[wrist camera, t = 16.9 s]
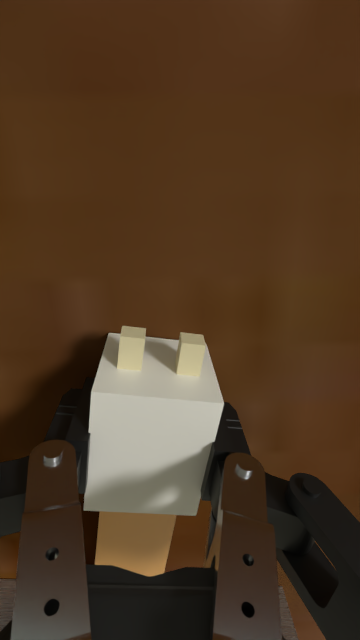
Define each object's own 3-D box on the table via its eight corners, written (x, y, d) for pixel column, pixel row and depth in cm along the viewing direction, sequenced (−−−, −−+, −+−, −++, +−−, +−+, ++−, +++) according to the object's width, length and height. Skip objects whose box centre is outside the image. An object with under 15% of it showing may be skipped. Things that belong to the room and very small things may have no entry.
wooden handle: (145, 634, 22) (143, 725, 19) (83, 634, 22) (69, 727, 18) (211, 317, 13) (232, 370, 10) (111, 305, 13) (93, 355, 9)
